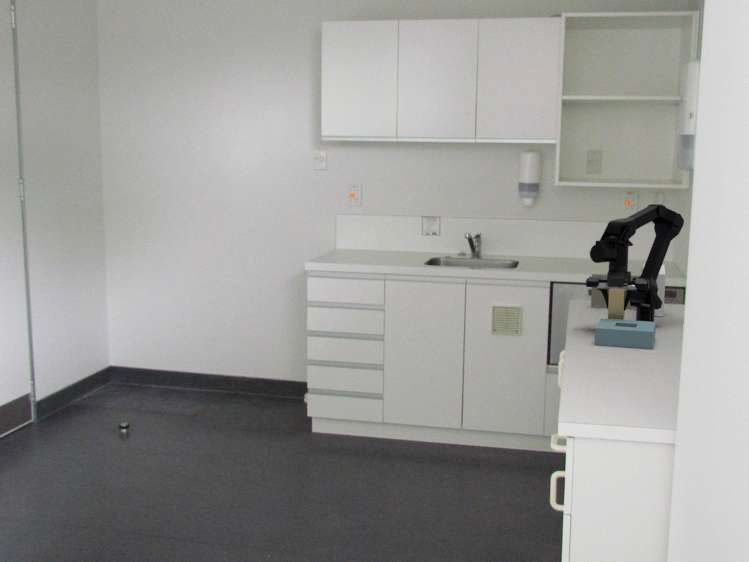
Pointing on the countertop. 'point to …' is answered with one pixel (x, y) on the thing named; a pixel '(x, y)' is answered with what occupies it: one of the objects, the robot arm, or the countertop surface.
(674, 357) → the countertop surface
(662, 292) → the milk carton
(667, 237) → the robot arm
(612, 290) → the brass pin
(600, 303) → the laptop
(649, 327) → the hole block
